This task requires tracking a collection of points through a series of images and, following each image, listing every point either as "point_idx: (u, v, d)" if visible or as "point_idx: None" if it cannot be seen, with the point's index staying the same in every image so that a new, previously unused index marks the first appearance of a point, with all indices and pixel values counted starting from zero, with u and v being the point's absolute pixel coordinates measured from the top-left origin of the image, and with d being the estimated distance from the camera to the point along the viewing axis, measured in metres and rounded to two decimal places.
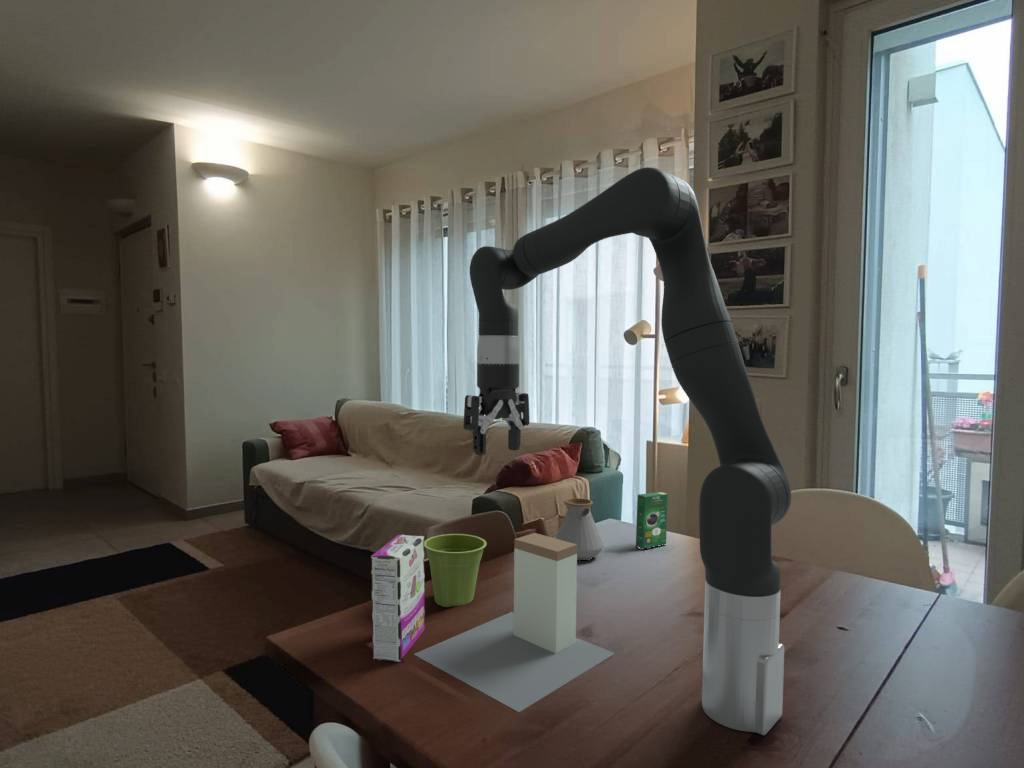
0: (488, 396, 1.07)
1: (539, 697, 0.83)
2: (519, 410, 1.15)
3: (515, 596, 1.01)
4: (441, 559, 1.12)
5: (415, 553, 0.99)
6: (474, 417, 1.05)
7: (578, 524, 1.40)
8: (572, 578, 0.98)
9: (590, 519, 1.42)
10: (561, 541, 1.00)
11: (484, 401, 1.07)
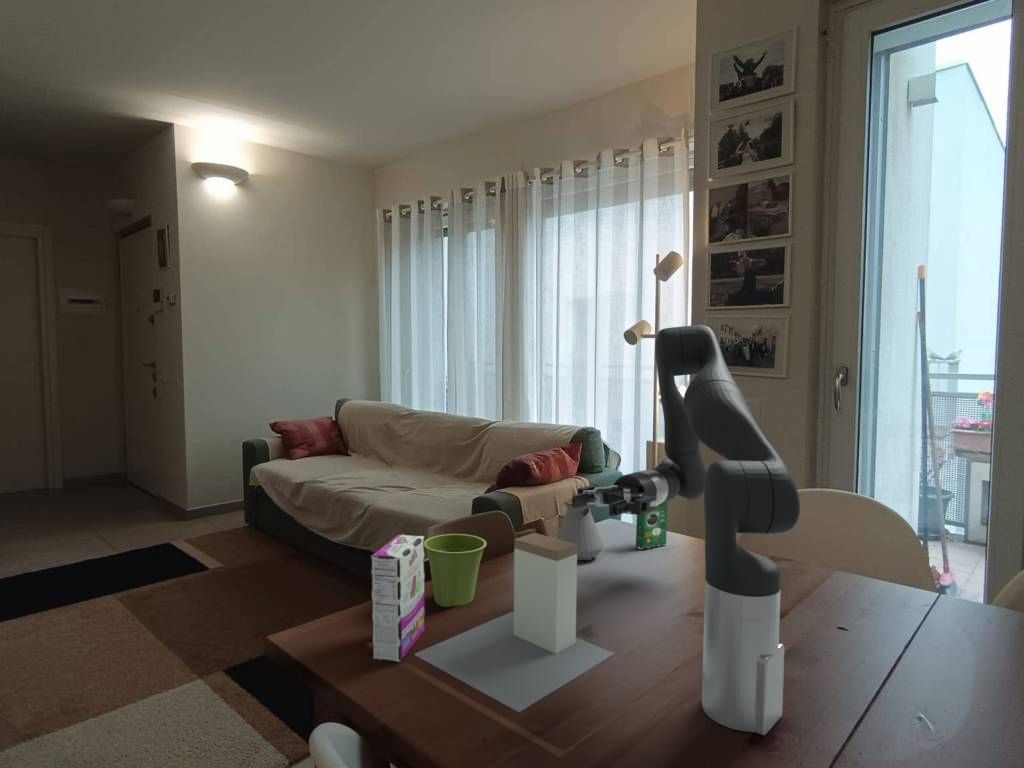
0: None
1: (539, 697, 0.83)
2: None
3: (515, 596, 1.01)
4: (441, 559, 1.12)
5: (415, 553, 0.99)
6: (584, 487, 1.18)
7: (578, 524, 1.40)
8: (572, 578, 0.98)
9: (590, 519, 1.42)
10: (561, 541, 1.00)
11: None
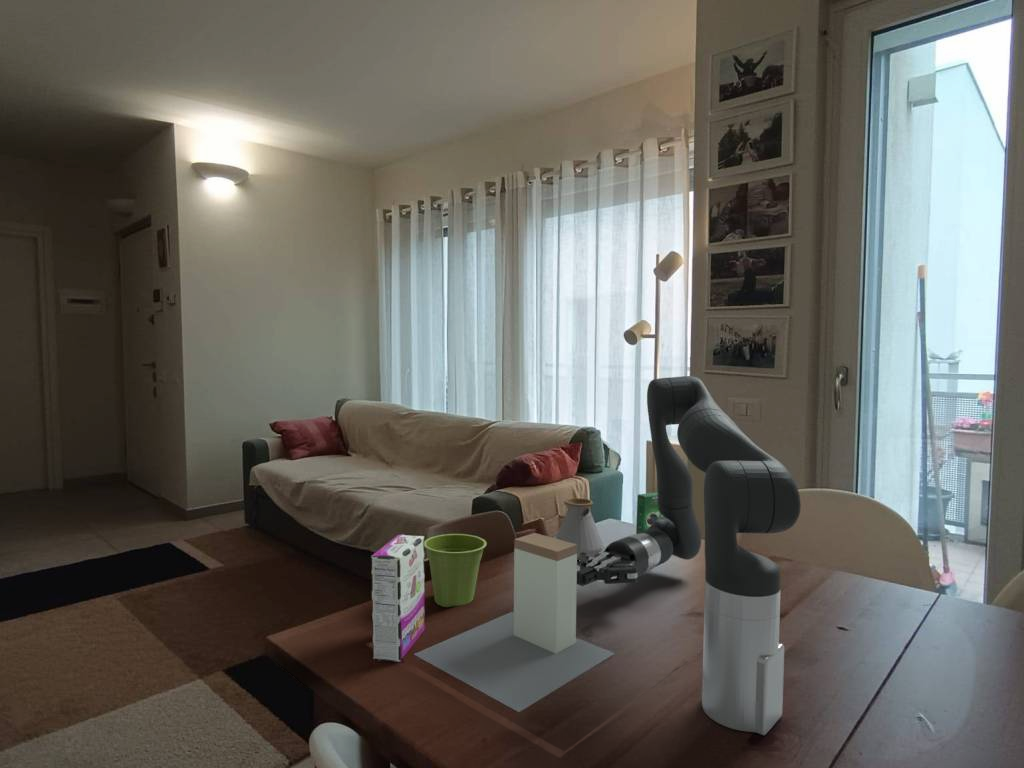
0: None
1: (539, 697, 0.83)
2: None
3: (515, 596, 1.01)
4: (441, 559, 1.12)
5: (415, 553, 0.99)
6: (581, 558, 1.14)
7: (578, 524, 1.40)
8: (572, 578, 0.98)
9: (590, 519, 1.42)
10: (561, 541, 1.00)
11: (594, 556, 1.16)
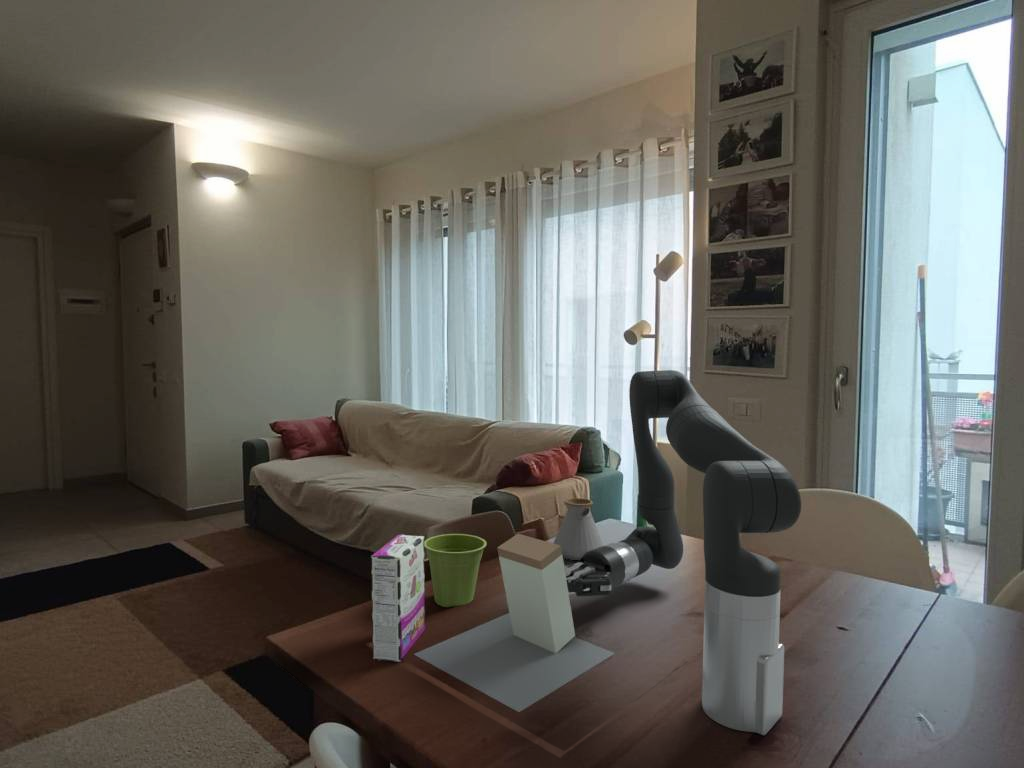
0: None
1: (539, 697, 0.83)
2: None
3: (508, 600, 1.00)
4: (441, 559, 1.12)
5: (415, 553, 0.99)
6: None
7: (578, 524, 1.40)
8: (561, 579, 0.96)
9: (590, 519, 1.42)
10: (544, 543, 0.97)
11: (568, 566, 1.10)
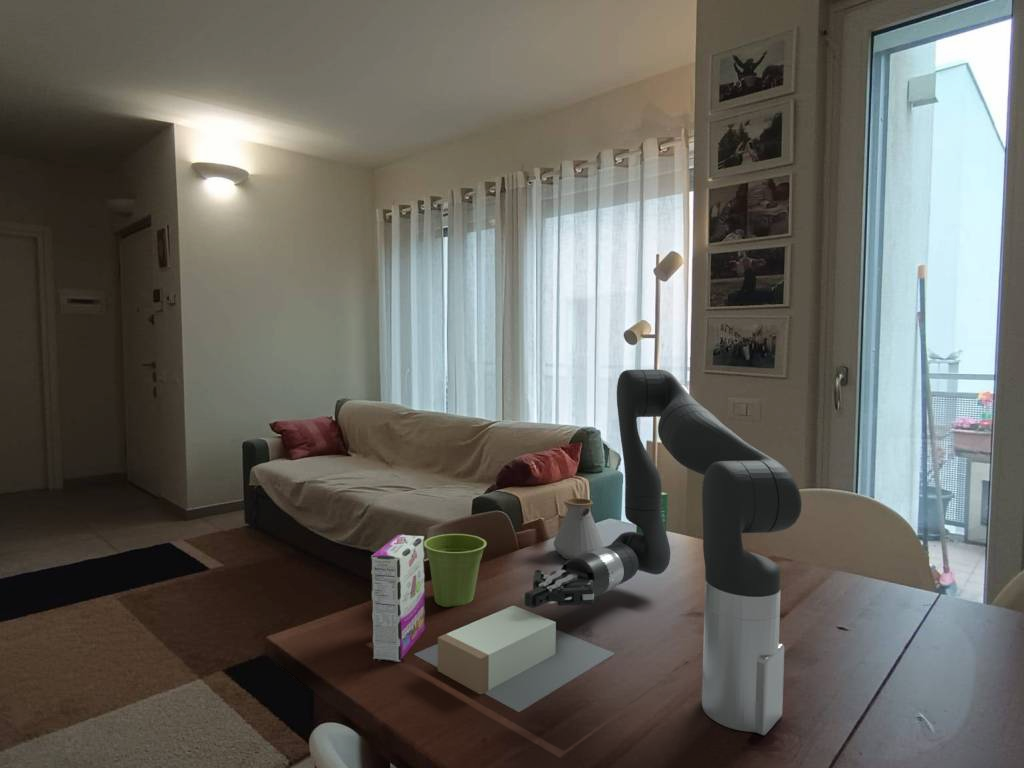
0: (554, 571, 1.08)
1: (539, 697, 0.83)
2: None
3: None
4: (441, 559, 1.12)
5: (415, 553, 0.99)
6: (535, 577, 1.04)
7: (578, 524, 1.40)
8: (507, 653, 0.88)
9: (590, 519, 1.42)
10: (466, 655, 0.86)
11: (550, 574, 1.07)
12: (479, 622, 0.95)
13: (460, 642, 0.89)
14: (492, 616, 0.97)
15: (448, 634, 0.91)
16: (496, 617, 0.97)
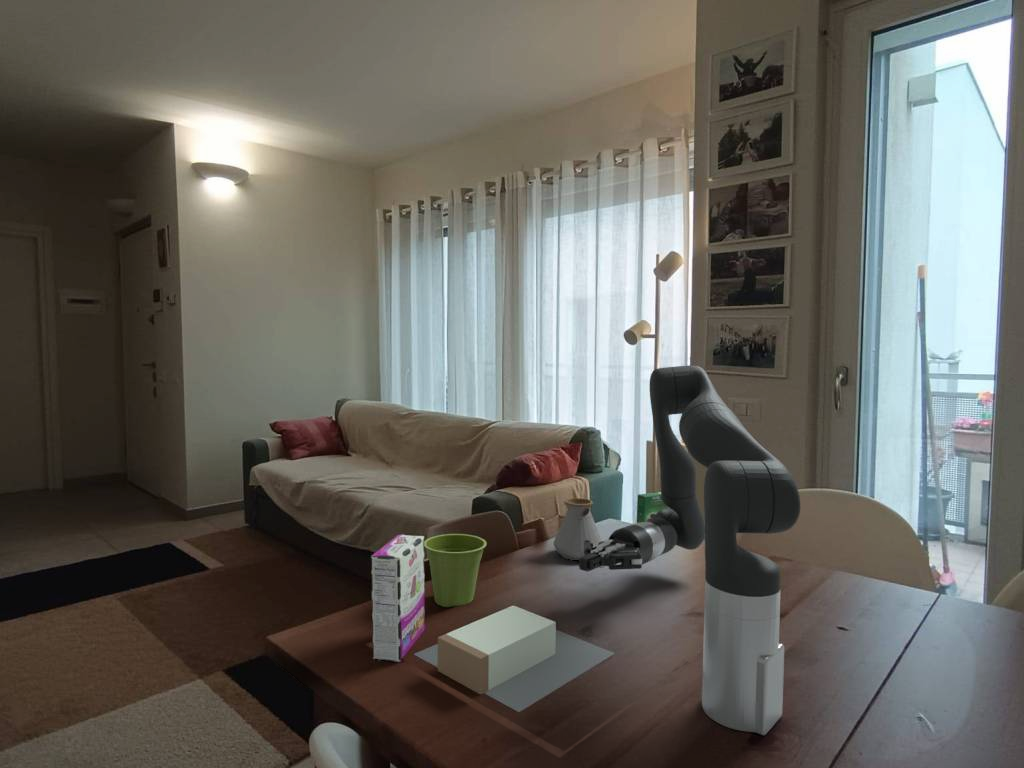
0: (602, 541, 1.17)
1: (539, 697, 0.83)
2: None
3: None
4: (441, 559, 1.12)
5: (415, 553, 0.99)
6: (585, 545, 1.13)
7: (578, 524, 1.40)
8: (507, 653, 0.88)
9: (590, 519, 1.42)
10: (466, 655, 0.86)
11: (598, 544, 1.16)
12: (479, 622, 0.95)
13: (460, 642, 0.89)
14: (492, 616, 0.97)
15: (448, 634, 0.91)
16: (496, 617, 0.97)
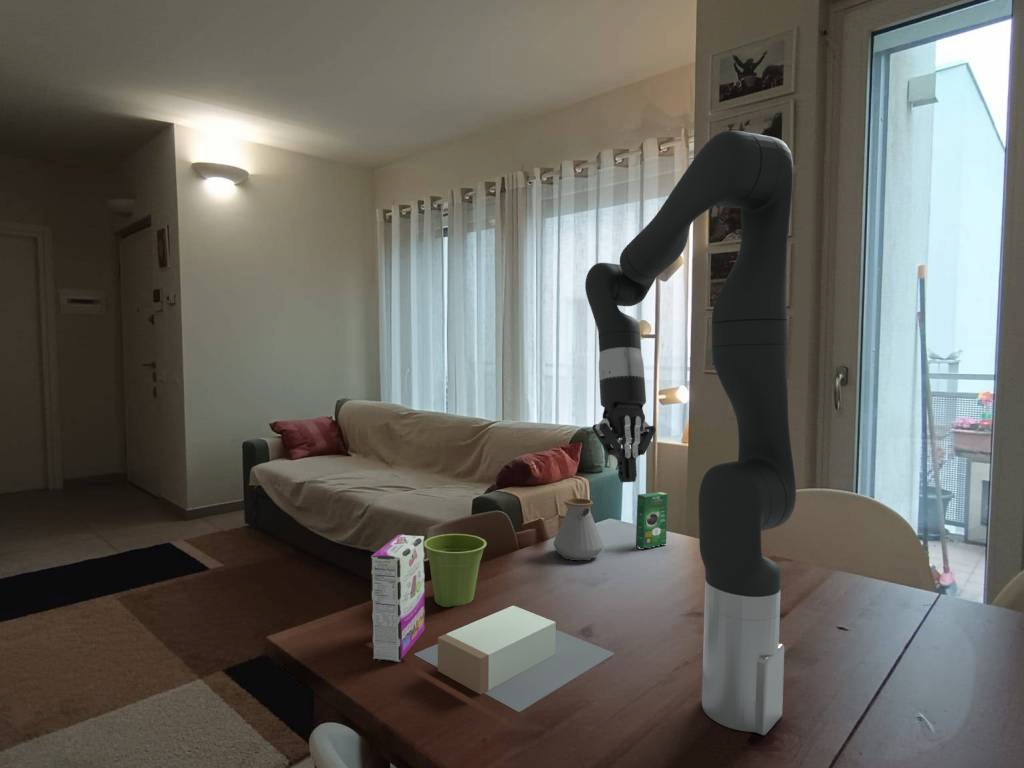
0: (612, 413, 1.00)
1: (539, 697, 0.83)
2: (639, 439, 1.05)
3: None
4: (441, 559, 1.12)
5: (415, 553, 0.99)
6: (613, 443, 0.99)
7: (578, 524, 1.40)
8: (507, 653, 0.88)
9: (590, 519, 1.42)
10: (466, 655, 0.86)
11: (612, 420, 1.00)
12: (479, 622, 0.95)
13: (460, 642, 0.89)
14: (492, 616, 0.97)
15: (448, 634, 0.91)
16: (496, 617, 0.97)
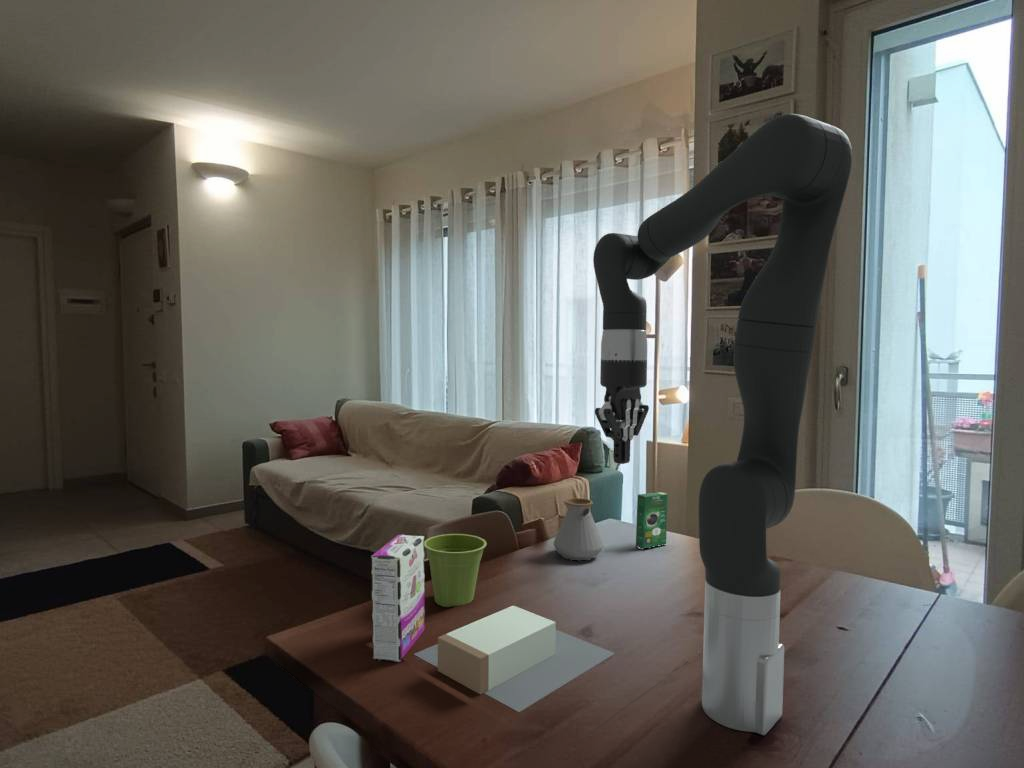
0: (615, 398, 0.98)
1: (539, 697, 0.83)
2: None
3: None
4: (441, 559, 1.12)
5: (415, 553, 0.99)
6: (615, 428, 0.98)
7: (578, 524, 1.40)
8: (507, 653, 0.88)
9: (590, 519, 1.42)
10: (466, 655, 0.86)
11: (614, 404, 0.99)
12: (479, 622, 0.95)
13: (460, 642, 0.89)
14: (492, 616, 0.97)
15: (448, 634, 0.91)
16: (496, 617, 0.97)
